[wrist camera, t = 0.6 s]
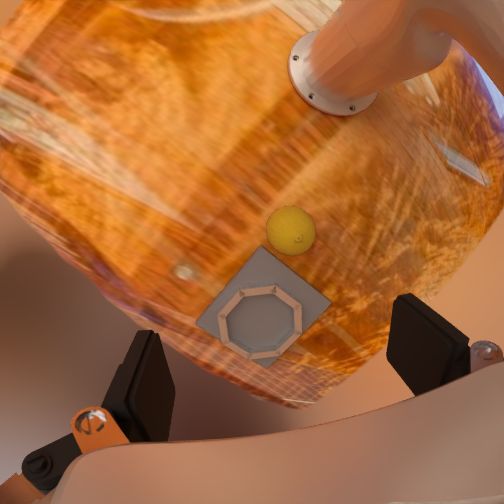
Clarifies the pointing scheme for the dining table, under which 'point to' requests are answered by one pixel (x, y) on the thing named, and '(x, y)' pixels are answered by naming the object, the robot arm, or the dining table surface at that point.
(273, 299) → the board
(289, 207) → the lemon
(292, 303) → the ring
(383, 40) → the robot arm
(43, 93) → the dining table surface
